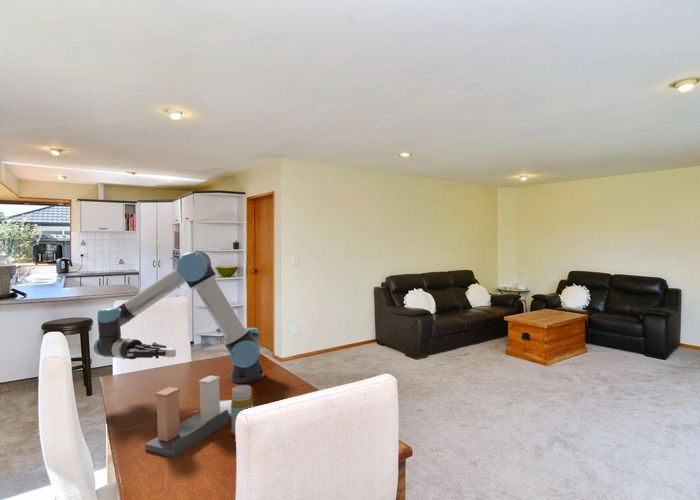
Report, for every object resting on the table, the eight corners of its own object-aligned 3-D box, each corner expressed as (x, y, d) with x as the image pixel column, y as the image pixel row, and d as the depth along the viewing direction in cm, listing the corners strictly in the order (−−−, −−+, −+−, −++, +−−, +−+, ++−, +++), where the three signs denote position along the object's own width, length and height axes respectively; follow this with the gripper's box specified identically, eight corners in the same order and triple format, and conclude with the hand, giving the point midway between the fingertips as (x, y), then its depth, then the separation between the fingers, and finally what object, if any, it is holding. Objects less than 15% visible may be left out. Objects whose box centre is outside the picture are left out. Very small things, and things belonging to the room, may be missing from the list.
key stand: (201, 416, 143) (201, 404, 143) (228, 422, 139) (228, 409, 139) (145, 450, 121) (144, 436, 121) (174, 457, 117) (174, 443, 117)
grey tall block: (211, 416, 138) (209, 375, 138) (221, 418, 136) (219, 376, 136) (199, 423, 133) (198, 380, 133) (210, 425, 131) (208, 382, 131)
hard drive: (230, 413, 143) (236, 399, 156) (207, 415, 142) (214, 400, 155) (230, 417, 143) (236, 403, 156) (207, 419, 142) (214, 405, 155)
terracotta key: (170, 431, 128) (169, 386, 128) (181, 433, 126) (179, 388, 126) (157, 439, 123) (155, 393, 123) (167, 442, 121) (165, 395, 121)
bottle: (231, 439, 127) (230, 393, 127) (232, 429, 134) (230, 385, 133) (254, 435, 129) (252, 390, 128) (253, 425, 136) (251, 383, 135)
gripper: (143, 353, 160) (187, 357, 151) (113, 363, 148) (160, 369, 139) (141, 335, 160) (186, 338, 151) (112, 343, 148) (158, 348, 139)
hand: (173, 353), depth 145 cm, fingers closed
